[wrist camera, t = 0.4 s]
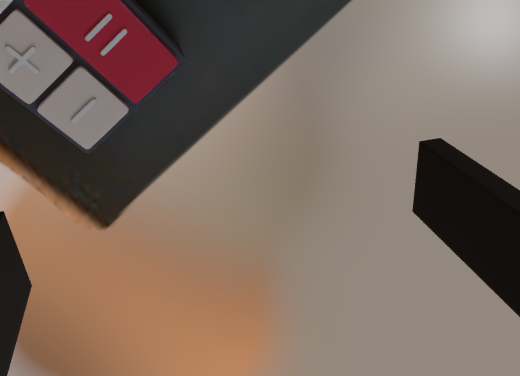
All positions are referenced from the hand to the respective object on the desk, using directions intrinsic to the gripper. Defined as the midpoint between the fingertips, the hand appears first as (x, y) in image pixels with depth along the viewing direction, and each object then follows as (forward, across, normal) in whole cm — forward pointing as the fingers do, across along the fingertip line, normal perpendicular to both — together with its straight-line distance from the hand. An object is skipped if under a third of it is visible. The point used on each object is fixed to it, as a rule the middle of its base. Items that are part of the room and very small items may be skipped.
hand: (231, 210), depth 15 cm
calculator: (+27, -8, +2) cm, 28 cm away
